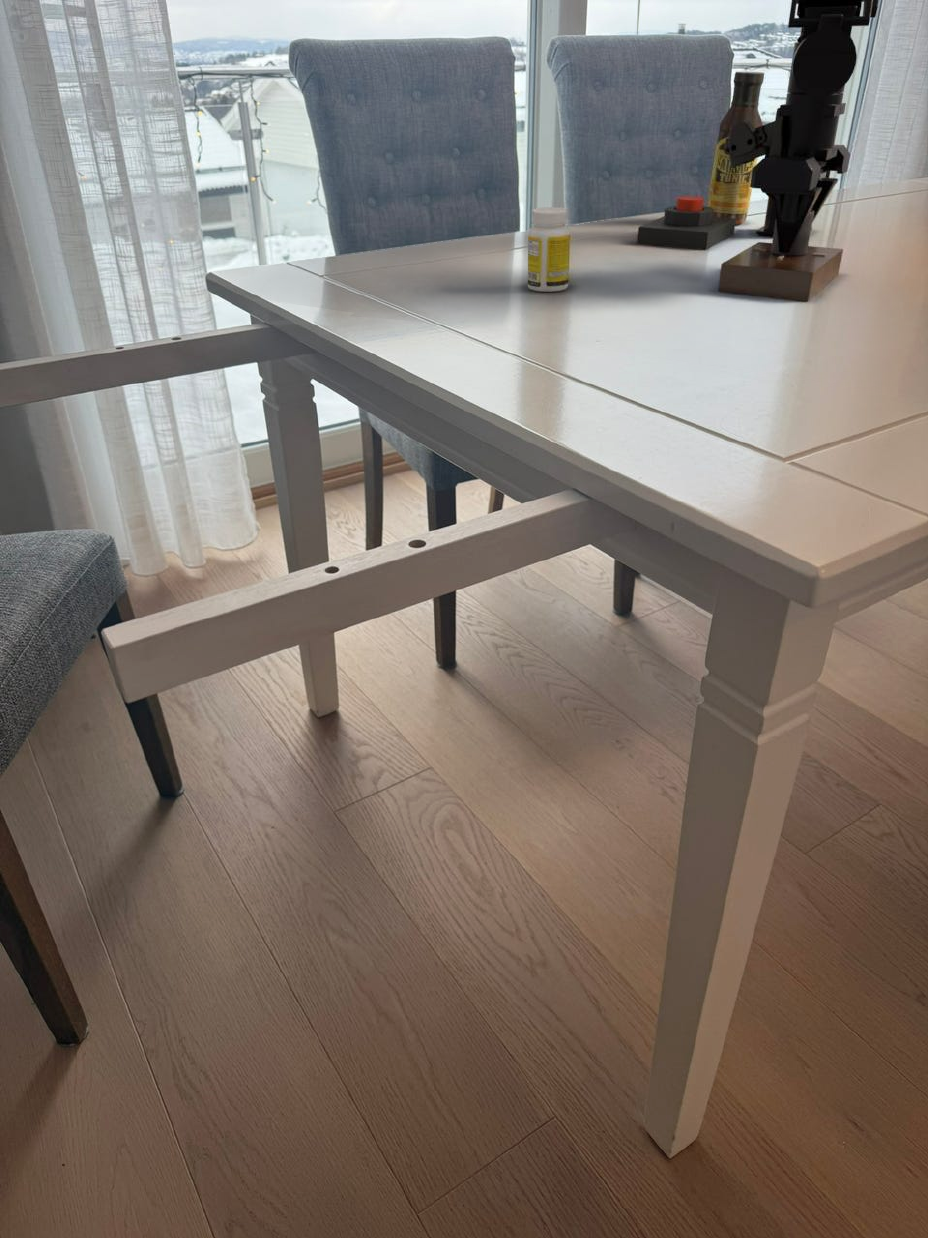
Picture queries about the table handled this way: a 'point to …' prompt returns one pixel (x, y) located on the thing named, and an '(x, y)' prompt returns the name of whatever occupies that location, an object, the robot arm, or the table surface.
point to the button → (689, 203)
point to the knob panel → (780, 272)
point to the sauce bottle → (727, 182)
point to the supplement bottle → (548, 250)
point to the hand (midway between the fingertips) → (789, 248)
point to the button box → (686, 229)
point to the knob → (801, 241)
